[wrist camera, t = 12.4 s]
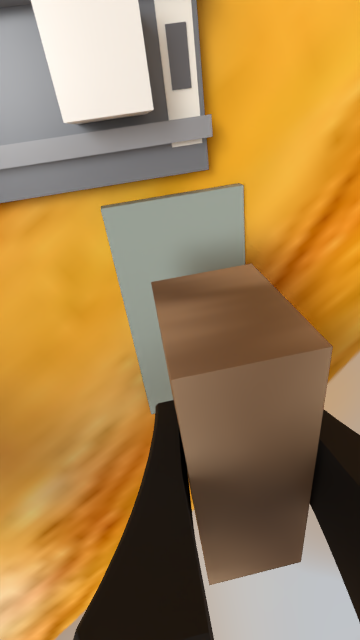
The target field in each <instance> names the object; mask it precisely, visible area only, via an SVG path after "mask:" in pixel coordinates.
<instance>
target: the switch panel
mask: <svg viewBox="0 0 360 640" xmlns="http://www.w3.org/2000/svg"><path fill="white" fill-rule="evenodd" d="M138 3H139V10H140V17H141V24H142V31H143V38H144V45H145V52H146V59H147V66H148V73H149V80H150V87H151V94H152V101H153V108H154V110H153V111H151V112H149V113H147V114H145V115H138V116H131V117H124V118H118V119H111V120H104V121H97V122H90V123H83V124H68V123H64V122H63V119H62V115H61V111H60V107H59V104H58V100H57V96H56V93H55V89H54V85H53V81H52V78H51V74H50V70H49V67H48V63H47V59H46V55H45V52H44V48H43V44H42V40H41V37H40V33H39V29H38V26H37V22H36V18H35V14H34V11H33V7H32V3H31V0H0V203H4V202H10V201H16V200H23V199H29V198H35V197H41V196H47V195H54V194H60V193H66V192H72V191H78V190H85V189H91V188H97V187H103V186H109V185H116V184H122V183H128V182H134V181H140V180H147V179H153V178H159V177H165V176H171V175H178V174H184V173H190V172H196V171H202V170H209V165H208V152H207V138H208V137H213V134H212V119H211V114H210V115H205V111H204V97H203V83H202V70H201V56H200V42H199V29H198V15H197V2H196V0H138Z"/></svg>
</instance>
